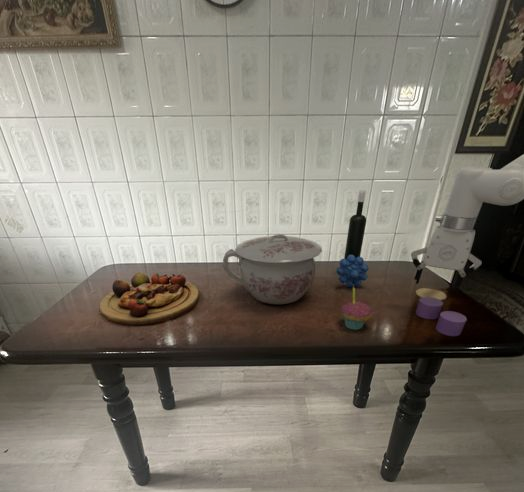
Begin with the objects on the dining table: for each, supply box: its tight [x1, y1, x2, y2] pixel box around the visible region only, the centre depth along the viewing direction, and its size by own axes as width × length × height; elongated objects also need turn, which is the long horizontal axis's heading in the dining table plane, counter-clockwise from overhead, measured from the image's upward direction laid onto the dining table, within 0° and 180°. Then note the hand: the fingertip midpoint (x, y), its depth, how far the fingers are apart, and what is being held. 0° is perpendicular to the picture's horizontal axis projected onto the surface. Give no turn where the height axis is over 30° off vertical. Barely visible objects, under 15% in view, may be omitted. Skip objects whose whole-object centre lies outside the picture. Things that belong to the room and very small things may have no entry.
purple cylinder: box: [415, 297, 444, 320], centre depth 91 cm, size 6×6×4 cm
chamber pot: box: [222, 233, 323, 305], centre depth 98 cm, size 28×28×21 cm
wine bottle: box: [343, 189, 367, 260], centre depth 111 cm, size 6×6×30 cm
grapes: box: [335, 255, 369, 289], centre depth 105 cm, size 12×7×12 cm, turn 93°
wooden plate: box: [98, 271, 201, 325], centre depth 99 cm, size 32×32×8 cm
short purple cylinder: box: [435, 310, 468, 337], centre depth 83 cm, size 6×6×4 cm
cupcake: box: [340, 285, 373, 331], centre depth 84 cm, size 9×8×12 cm
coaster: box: [415, 287, 448, 302], centre depth 103 cm, size 10×10×1 cm
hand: (435, 285), depth 87 cm, fingers open, 9 cm apart
